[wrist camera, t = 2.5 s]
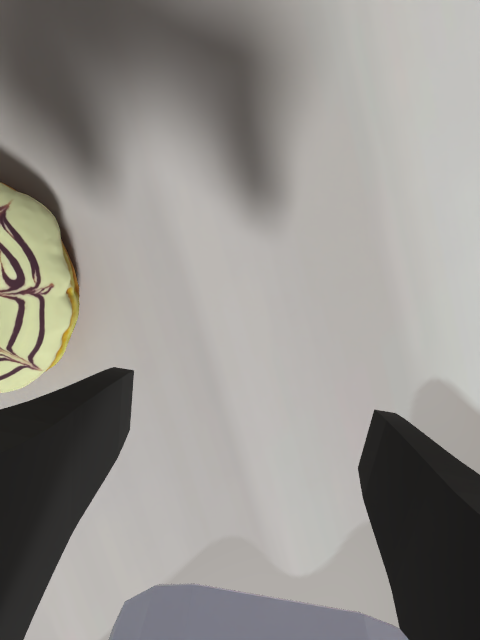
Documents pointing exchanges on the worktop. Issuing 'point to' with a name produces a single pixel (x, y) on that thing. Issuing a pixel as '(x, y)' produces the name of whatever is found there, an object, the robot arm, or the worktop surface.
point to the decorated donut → (32, 290)
